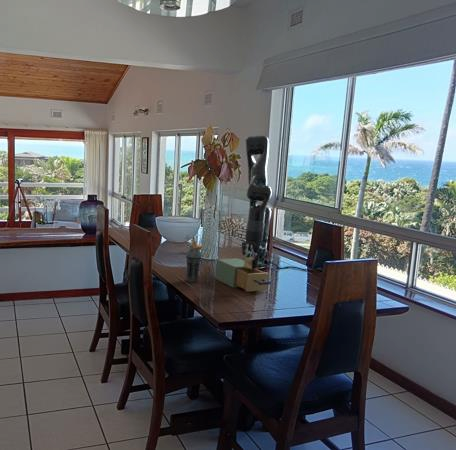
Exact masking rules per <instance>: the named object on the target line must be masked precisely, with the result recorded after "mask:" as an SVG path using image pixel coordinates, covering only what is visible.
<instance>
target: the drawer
mask: <svg viewBox="0 0 456 450" xmlns="http://www.w3.org/2000/svg"><path fill="white" fill-rule="evenodd" d="M269 277H270V272H264V271H262V270H261V269H249V268H239V269H236V275H235V285H237V286H239V287H238V288H241V289H243V290H244V292H247V293H248V292H260V291H261V292H262V291H268V285H270V284H271V281H270V280H269Z"/></svg>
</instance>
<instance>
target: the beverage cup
mask: <svg viewBox="0 0 456 450" xmlns="http://www.w3.org/2000/svg"><path fill="white" fill-rule="evenodd" d="M195 241H196V240H195V238H194V239H193V244H194V246H193V248H192V249H191V248H190V249H189V250H188V251H187V253H186V256H185V257H186V281H187V282H188V283H197V282H198V278H199V273H200V266H201V262H202V259H203V255H202V251H201V250H199V249H197V248H195Z"/></svg>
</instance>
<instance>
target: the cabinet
mask: <svg viewBox="0 0 456 450" xmlns="http://www.w3.org/2000/svg"><path fill="white" fill-rule="evenodd" d="M244 260H245V259H241V258H238V257H237V258H236V257H234V258H217V259H216V264H215V275H214V279H215V280H217V281H219V282H221V283H223V284H225V285H226V286H229V287H231V288H240V287H239V286H237V285H235V275H236V269H239V268H246V267H244Z"/></svg>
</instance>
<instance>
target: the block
mask: <svg viewBox="0 0 456 450" xmlns="http://www.w3.org/2000/svg"><path fill="white" fill-rule="evenodd" d="M243 260H244V267H246V268H249V269H253V268H252V263H253V257H245V256H244V259H243ZM258 261H259V260H258ZM256 269H258V264H257V268H256ZM258 270H259V269H258Z"/></svg>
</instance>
